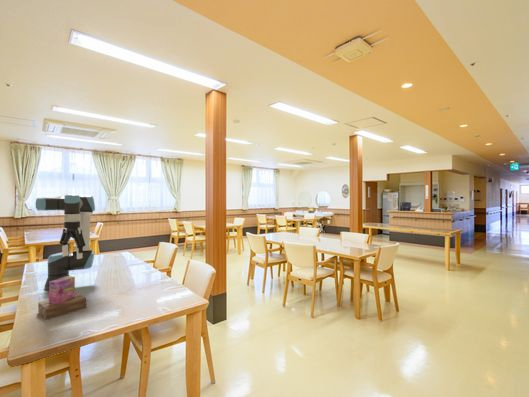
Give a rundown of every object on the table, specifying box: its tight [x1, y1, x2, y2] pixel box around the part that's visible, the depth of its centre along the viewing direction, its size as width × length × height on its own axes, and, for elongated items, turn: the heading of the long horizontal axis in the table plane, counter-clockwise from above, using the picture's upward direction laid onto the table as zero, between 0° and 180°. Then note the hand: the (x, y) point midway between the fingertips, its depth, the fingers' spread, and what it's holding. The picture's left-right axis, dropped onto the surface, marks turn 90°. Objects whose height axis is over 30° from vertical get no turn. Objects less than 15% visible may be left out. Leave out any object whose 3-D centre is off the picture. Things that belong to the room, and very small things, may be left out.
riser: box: [37, 292, 88, 320], centre depth 146 cm, size 14×18×6 cm
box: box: [48, 275, 76, 304], centre depth 146 cm, size 10×6×12 cm, turn 168°
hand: (72, 257), depth 155 cm, fingers open, 13 cm apart
